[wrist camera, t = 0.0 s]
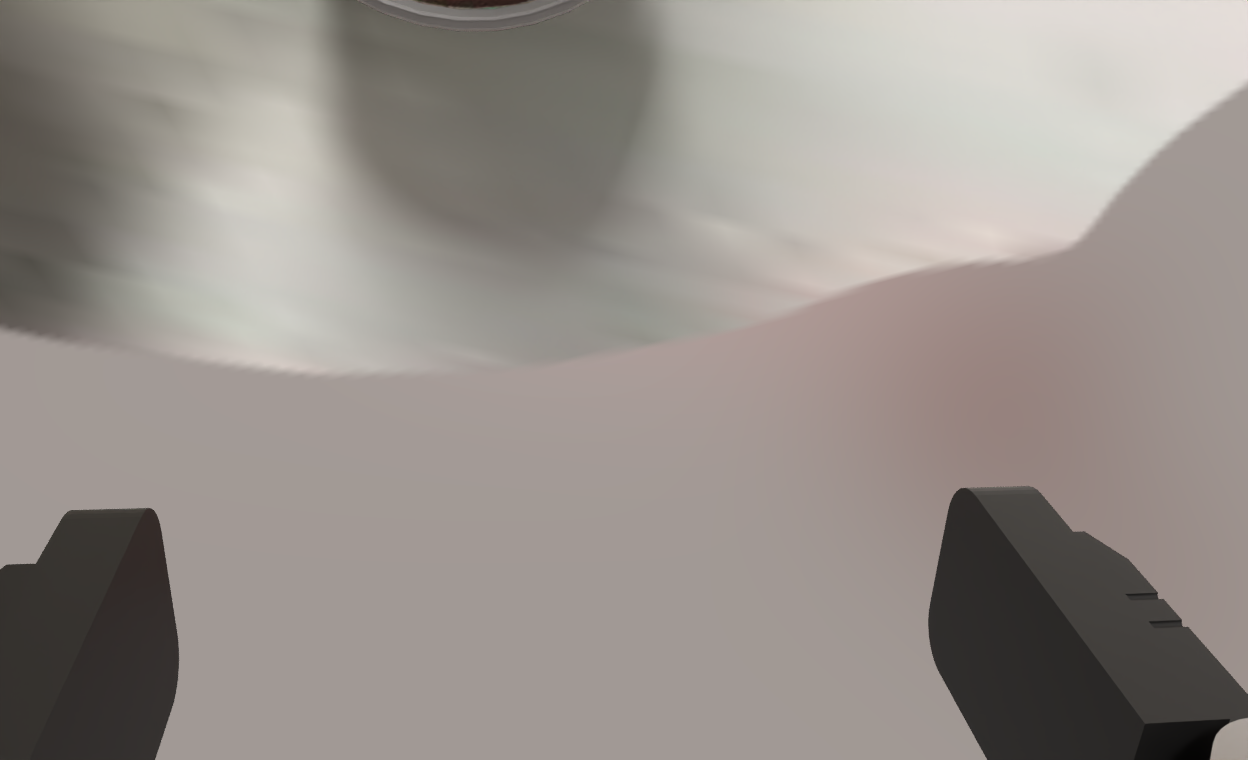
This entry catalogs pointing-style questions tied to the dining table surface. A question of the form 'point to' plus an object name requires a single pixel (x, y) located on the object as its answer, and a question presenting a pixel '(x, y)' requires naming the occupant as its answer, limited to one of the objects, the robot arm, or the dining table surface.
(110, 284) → the dining table surface
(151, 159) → the dining table surface
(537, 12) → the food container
